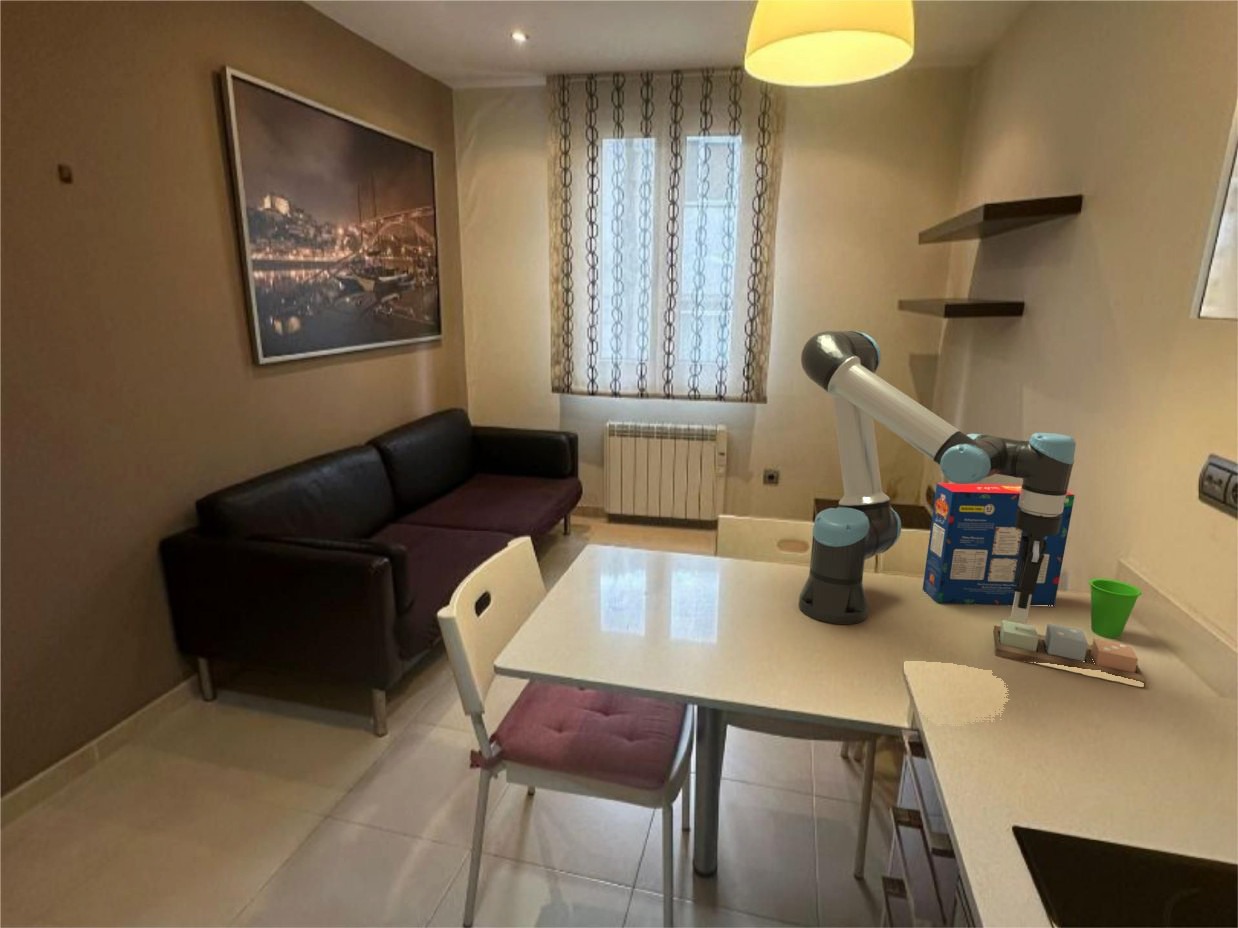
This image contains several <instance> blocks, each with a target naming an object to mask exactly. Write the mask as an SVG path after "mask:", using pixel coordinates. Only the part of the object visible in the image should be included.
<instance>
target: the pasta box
mask: <svg viewBox="0 0 1238 928" xmlns="http://www.w3.org/2000/svg"><path fill="white" fill-rule="evenodd" d="M1021 487H1022V484H1021V485H1020V484H1019V485H1015V484H981V483H979V484H978V483H970V484H956V483H942V482H941V483H940V482H936V486H935V495H934V500H933V501H934V502H933V510H932V515H931V517H932V518H931V524H930V529H929V530H930V531H929V538H928V548H927V553H926V560H925V570H924V574H923V575H924V577H923V583H922V591H923V590H924V591H923V592H924V593H925V592H926V593H925V594H926V595H927V594H928V595H927V596H929V597H930V598H931V599H932V600H933V601H934V602H935V603H936V604H941V605H942V604H943V605H944V604H947V605H949V604H950V605H979V606H983V605H984V606H1008V605H1010V606H1011V607H1013V602H1014V597H1015V592H1016V591H1014V587H1016V588H1018V587H1017V586H1016V584H1017V581H1016V577H1017V574H1018V568H1019V562H1020V556H1021V554H1020V551H1021V546H1022V543H1021V538H1022V535H1026V532H1027V531H1022V530H1020V529H1018V528H1017V527H1016V526H1015V520H1016V515H1017V510H1018V509H1020V507H1019V506H1018V502H1019V497H1020V491H1021ZM1066 498H1068V499H1069V502H1068V503H1064V504H1063V505H1064V508H1063V512H1062V513H1061V514H1059V515H1060V516H1061V517H1062V520H1061V525H1060V530H1059V533H1058V534H1056V535H1046V536H1044V539H1045V543H1047V546H1046V550H1045V551H1044V553H1043V554H1044V559H1043V561H1042V564H1041V567H1040V571H1039V575H1038V579H1037V583H1036V587H1035V593H1034V595H1032V597H1031V602H1030V605H1048V606H1049V605H1050V606H1051V605H1053V606H1054V607H1055V606H1056V599H1057V594H1058V588H1059V583H1060V578H1061V571H1062V566H1063V561H1064V554H1065V551H1066V544H1067V539H1068V533H1069V528H1070V522H1071V517H1072V512H1073V506H1074V503H1075V502H1074V501H1075V494H1074V493H1071V492H1068V491H1067V494H1066ZM1008 607H1009V606H1008Z"/></svg>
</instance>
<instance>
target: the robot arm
mask: <svg viewBox="0 0 1238 928" xmlns="http://www.w3.org/2000/svg"><path fill="white" fill-rule="evenodd" d="M802 348H803V349H802V351H801V355H800V356H801V357H800V361H801V366H802V367H801V368H802V370H803V371H804V373H805V374H806V376H807V377H808V378H809V379H810V380H811V381H813V383H815V384H816V385H818V386H819V387H820V388H822V389H823V390H824V393H826V394H827V395H828V396H830V397H831V398H832V404H833V412H834V423H835V429H836V435H837V436H836V437H837V443H838V444H837V446H838V453H839V462H840V468H841V469H840V470H841V479H842V486H843V492H844V493H843V496H842V497H841V498H840V500H839V501H838V505H839V506H837V507H836V508H834V507H829V508H826V509H823V510H821V511H820V512H818V513H817V515H816V516H815V518H814V523H813V526H812V541H811V551H810V564H809V565H810V566H809V574H808V577H807V579H806V581H805V584H804V585H803V587H802V589H801V592H800V593H799V597H798V608H799V609H800V610H801V612H802V613H803V614H805V615H807V616H808V617H811V618H813V619H816V621H821V622H825V623H830V624H835V625H836V624H837V625H852V624H858V623H862V622H863V621H864V620H866V619H867V615H868V603H867V597H866V593H865V589H864V585H863V577H864V568H865V561H867V560H868V559H870V558H873V557H875V556H877V555H881V554H883V553H885V552H887V551H889V549H891V548H892V547H893V546H894V545H895V544H896V543H897V542H898V541H899V539H900V536H901V533H902V522H901V518H900V516H899V514H898V512H897V511H895V510H894V509H893V507H892V505H891V498H890V496H888V495H887V494H886V493H884V492H883V487H882V480H881V473H880V472H881V471H880V464H879V463H880V462H879V455H878V448H877V447H878V446H877V440H876V431H875V430H876V429H875V424H874V422H875V421H877V422H878V423H879V424H881V425H882V426H884V427H885V428H886V429H888V430H889V431H891V432H892V433H894V434H895V435H897V436H898V437H899V438H900V439H902V440H903V441H905V442H906V443H907V444H909V445H911V446H912V447H913V448H915V449H916V450H917V451H919V452H920V453H922V454H923V455H925V456H926V457H927V458H929V459H930V460H932V461H933V462H935V463H936V464H937V465H939V467H940V471H941V473H942V474H943V476H944V477H945V478H946V480H948V481H950V483H952V484H977V483H978V482H981V481H983V480H984V479H986V478H988V477H991V476H993V475H1001V476H1007V477H1013V478H1017V479H1018V478H1019V479H1022V484H1021V485H1022V487H1021V491H1020V497H1019V502H1018V506H1019V507H1020V509H1018V510H1017V515H1016V520H1015V526H1016V527H1017V528H1018V529H1020V530H1022V531H1027V532H1026V535H1022V538H1021V543H1022V546H1021V551H1020V554H1021V556H1020V562H1019V568H1018V574H1017V577H1016V581H1017V584H1016V586H1017V587H1018V588H1016V587H1014V591H1016V592H1015V597H1014V602H1013V606H1011V607H1012V608H1011V613H1010V620H1011V621H1013V622H1017V623H1019V622H1020V623H1022V624H1027V623H1028V616H1029V611H1030V607H1031V606H1030V602H1031V597H1032V595H1034V593H1035V587H1036V583H1037V579H1038V575H1039V571H1040V567H1041V564H1042V561H1043V559H1044V554H1043V553H1044V551H1045V550H1046V546H1047V543H1045V539H1044V536H1046V535H1056V534H1058V533H1059V530H1060V525H1061V520H1062V517H1061V516H1060V515H1059V514H1061V513H1062V512H1063V508H1064V505H1063V504H1064V503H1068V502H1069V499H1068V498H1066V494H1067V492H1068V489H1069V484H1070V480H1071V475H1072V471H1073V466H1074V463H1075V453H1076V452H1075V451H1076V446H1077V445H1076V444H1077V443H1076V442H1077V441H1076V440H1075V439H1074V438H1073V437H1072V436H1069V435H1065V434H1060V433H1048V432H1035V433H1033V434H1031V436H1030V439H1029V440H1019V439H1013V438H1008V437H1001V436H994V435H989V434H986V433H983V434H981V433H979V434H978V433H968V434H967V435H966V434H965V433H964V432H962V431H961V430H959V429H958V428H957V427H955V426H953V425H952V424H951V423H950V422H947V420H945V419H943V418H941V416H938V415H937V414H936V413H934V412H932V411H931V410H930V409H928V408H926V407H925V406H924V405H922V404H920V402H917V401H916V400H914V399H913V398H912V397H910V396H909V395H908V394H906V393H904V392H903V391H901V390H899V389H898V388H896V387H895V386H893V385H892V384H890V383H889V382H887V381H886V380H884V379H883V378H882V377H880V376H878V375H877V374H876V372H877V370H878V368H879V367H880V364H881V360H882V359H881V357H882V356H881V355H882V354H881V350H880V347H879V345H878V343H877V341H875V339H874V338H873V337H871V335H868V334H867V333H864V332H859V331H855V330H848V331H847V330H845V331H844V330H842V331H841V330H838V331H836V330H835V331H834V330H827V331H826V330H825V331H821V332H818V333H816V334H814V335H812V336H811V337H810V338H809V339H808V340H807V341H806V343H805V344H804V346H803V347H802ZM874 420H875V421H874Z"/></svg>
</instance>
